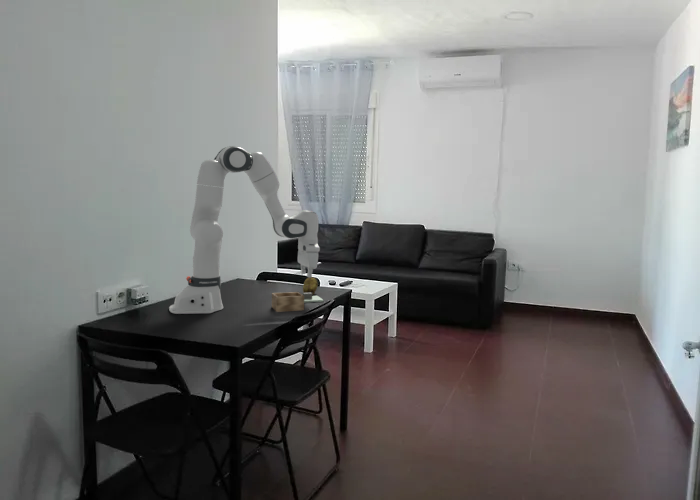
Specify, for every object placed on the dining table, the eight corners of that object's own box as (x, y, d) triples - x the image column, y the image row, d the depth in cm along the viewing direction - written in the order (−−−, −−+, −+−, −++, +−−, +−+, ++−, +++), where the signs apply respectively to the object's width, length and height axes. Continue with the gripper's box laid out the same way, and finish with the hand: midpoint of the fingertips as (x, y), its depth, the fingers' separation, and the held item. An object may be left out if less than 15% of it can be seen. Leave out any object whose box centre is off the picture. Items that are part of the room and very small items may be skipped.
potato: (296, 296, 283) (297, 280, 282) (306, 291, 295) (306, 275, 294) (313, 297, 280) (313, 281, 279) (322, 292, 293) (322, 277, 292)
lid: (296, 305, 264) (297, 295, 264) (291, 301, 273) (291, 291, 273) (323, 304, 269) (323, 294, 268) (317, 299, 278) (317, 290, 277)
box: (276, 313, 247) (276, 297, 246) (271, 308, 255) (271, 293, 254) (303, 311, 251) (304, 295, 250) (298, 307, 260) (298, 291, 259)
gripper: (295, 242, 276) (293, 271, 277) (307, 248, 257) (305, 279, 259) (307, 243, 278) (306, 271, 280) (321, 248, 259) (319, 279, 261)
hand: (306, 275), depth 269 cm, fingers open, 8 cm apart
